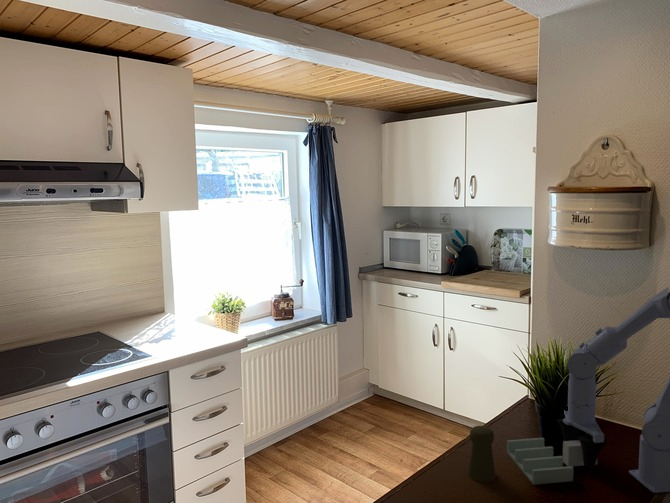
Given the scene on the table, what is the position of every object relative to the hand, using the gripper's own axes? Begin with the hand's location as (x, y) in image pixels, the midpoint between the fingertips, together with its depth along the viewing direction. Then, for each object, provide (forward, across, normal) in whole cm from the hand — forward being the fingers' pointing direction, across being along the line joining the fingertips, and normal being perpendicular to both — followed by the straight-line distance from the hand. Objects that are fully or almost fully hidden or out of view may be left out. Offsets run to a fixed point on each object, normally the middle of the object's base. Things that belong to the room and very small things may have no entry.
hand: (579, 456), depth 120 cm
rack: (+1, 0, -10) cm, 10 cm away
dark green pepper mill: (+2, +2, -24) cm, 24 cm away
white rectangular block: (+2, 0, 0) cm, 2 cm away
